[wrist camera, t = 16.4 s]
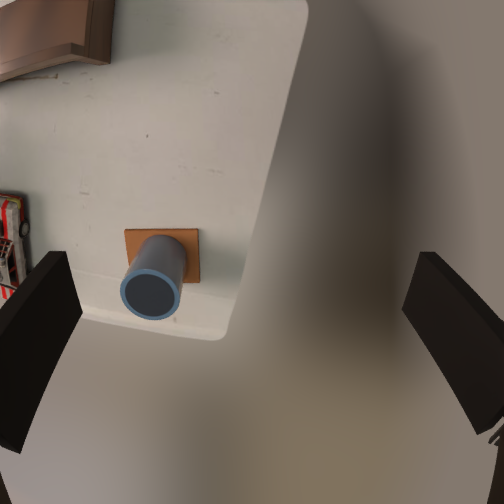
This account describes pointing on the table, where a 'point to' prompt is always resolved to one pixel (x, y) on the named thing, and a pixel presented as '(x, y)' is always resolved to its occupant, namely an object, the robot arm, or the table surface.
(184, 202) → the table surface
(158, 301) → the cup
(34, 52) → the shelf
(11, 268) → the toy car
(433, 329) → the robot arm
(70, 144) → the table surface
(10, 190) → the table surface
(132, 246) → the coaster
